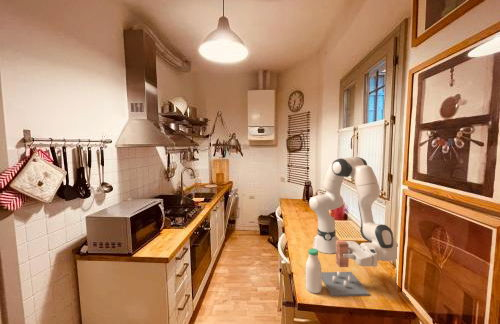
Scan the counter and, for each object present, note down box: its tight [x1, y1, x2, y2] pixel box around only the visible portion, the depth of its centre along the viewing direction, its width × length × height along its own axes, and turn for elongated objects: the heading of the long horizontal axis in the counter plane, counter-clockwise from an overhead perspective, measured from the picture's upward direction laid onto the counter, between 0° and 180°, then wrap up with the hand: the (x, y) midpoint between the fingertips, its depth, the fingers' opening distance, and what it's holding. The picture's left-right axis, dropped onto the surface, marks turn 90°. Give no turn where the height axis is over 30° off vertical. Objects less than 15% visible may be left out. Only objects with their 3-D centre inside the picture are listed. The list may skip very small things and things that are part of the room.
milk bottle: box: [305, 248, 323, 294], centre depth 105 cm, size 8×8×20 cm
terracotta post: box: [335, 239, 349, 268], centre depth 108 cm, size 4×4×12 cm
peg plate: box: [321, 270, 370, 297], centre depth 109 cm, size 18×18×4 cm
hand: (340, 252), depth 108 cm, fingers closed on terracotta post, 4 cm apart
